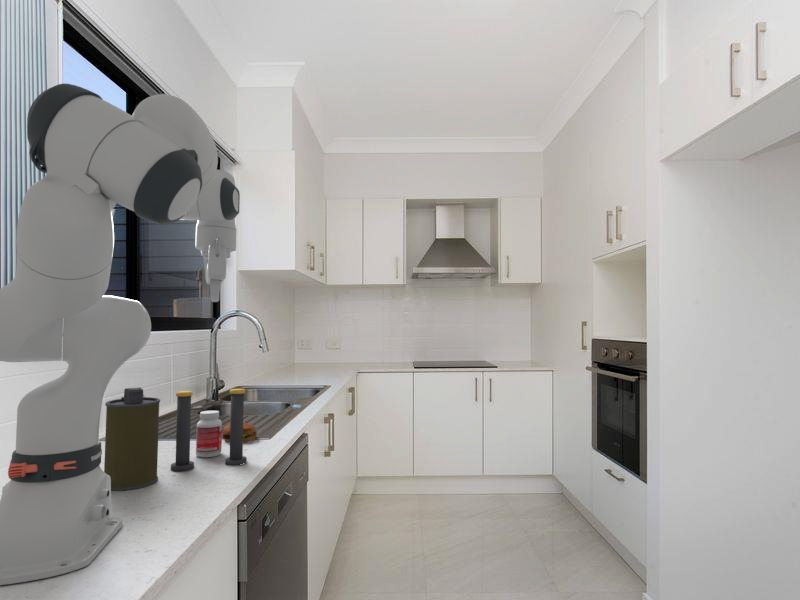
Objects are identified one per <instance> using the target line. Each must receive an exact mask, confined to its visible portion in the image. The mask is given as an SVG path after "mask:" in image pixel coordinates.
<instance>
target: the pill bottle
mask: <svg viewBox="0 0 800 600" xmlns="http://www.w3.org/2000/svg"><path fill="white" fill-rule="evenodd" d="M199 418H200V420H199V421H198V422H197V423H196V439H195V446H196V447H195V455H196V456H197V457H198V458H213V457H214V458H215V457H218V456H220V455H221V453H222V439H223V428H222V427H223V423H222V420H221V419H220V411H219V410H204V411H200V413H199Z"/></svg>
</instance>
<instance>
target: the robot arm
mask: <svg viewBox="0 0 800 600" xmlns="http://www.w3.org/2000/svg"><path fill="white" fill-rule="evenodd" d="M26 130H27V131H26V135H27V137H26V138H27V140H28V144H29V146H30V149H29V158H30V160H31V163H33V165H34V166H35V168H36V169H37V170H39V171H40V172H41V173H43V174H45V176H44V177H42V178H41V179H39V180H38V181H36V182H35V183H33V184H32V185H31V186H30V187H29V188H28V189H27V190H26V192H25V194H24V196H23V200H22V202H21V205H20V210H19V214H18V218H17V226H16V236H15V237H16V239H15V241H16V242H15V243H16V244H15V245H16V246H15V247H16V268H15V275H14V278H13V279H12V280H11V281H10V282H8V283H7V284H5V285H4V286H3V287H1V288H0V362H5V363H6V362H7V363H31V362H32V363H34V362H36V363H37V362H38V363H39V362H61V361H62V362H66V363H67V364H68V366H67V369H66V370H65V372H64V373H63V374H62V375H61V376H59V377H57V378H55V379H53V380H50V381H48V382H46V383H43V384H42V385H39V386H38V387H35V388H34V389H32V390H31V391H29V392H27V394H24V396H23V397H22V398H21V400H20V401H19V404H18V405H17V410H16V433H15V434H16V435H15V450H13V452H12V454H11V458H10V461H9V466H8V471H7V476H8V478H9V479H10V480H9V481H8V482H7V483H5V485H3V486H2V489H1V497H0V586H3V585H13V584H17V583H18V584H20V583H25V582H26V583H27V582H31V581H36V580H37V581H38V580H41V579H47V578H51V577H55V576H60V575H63V574H67V573H71V572H73V571H77V570H79V569H82V568H85V567H87V566H88V565H90V564H91V563H92V562H93V560H94V559H95V558H96V557H97V556H98V554H99V553H101V551H102V550H103V549H104V548H105V546H106V545H107V544H108V543H109V542H110V540H111V539H113V538H114V537H115V534H117V532H119V530H120V529H121V528H122V527H123V520H122V518H120V517H115V516H112V490H111V478H110V476H109V475H108V474H106V473H105V472H104V469H102V468H101V466H100V465H101V463H102V454H103V449H102V442H101V441H100V440H99V436H100V434H99V433H100V423H101V421H100V420H101V412H102V405H103V404H102V403H103V399H104V394H105V391H106V390H107V387H108V385H109V384H110V382H111V379H112V378H113V377H114V375H115V373H117V371H119V369H120V368H121V367H122V365H124V364H125V363H126V362H128V360H129V359H131V358H133V357H134V356H135V355H137V354H138V353H139V352H141V351H142V350H143V348H144V347H145V346H146V344H147V343H148V341H149V339H150V336H151V331H152V321H151V316H150V315H149V312H148V311H147V310H148V309H146V307H145V306H144V305H143V304H142V303H141V302H140V301H138V300H136V299H135V300H134V299H130V298H126V297H121V296H115V295H111V294H108V295H107V294H105V293H106V292H107V290H108V288H109V284H110V276H111V269H112V263H113V255H114V248H115V247H114V246H115V232H114V231H115V230H114V220H113V215H112V214H113V213H112V212H113V210H114V208H115V207H116V205H117V204H118V205H120V206H121V207H124V208H125V209H128V210H129V211H132V212H134V213H135V215H136V216H137V217H139V218H140V219H144V220H145V221H148V222H150V223H153V224H157V225H161V226H164V225H169V224H172V223H175V222H177V221H179V220H180V221H197V222H196V225H195V249H197V250H198V251H200V253H201V255H200V256H201V257H202V258H203V264H204V265H203V267H204V276H205V277H204V278H205V281H206V285H209V288H210V289H209V291H210V292H209V293H210V302H212V303H218V302H219V301H220V292H221V284H222V283H223V282H224V281H225V279H226V277H227V259H229V258H231V253H232V252H235V251H237V231H238V230H237V225H236V217H237V216H239V214H240V199H241V197H240V196H241V195H240V190H239V189H238V188H237V186H236V181H235V177H234V176H233V175H232V174H231V173H229V172H228V171H226V170H222V169H218V165H219V164H218V163H219V162H218V161H219V156H218V149H217V145H216V141H215V140H214V138H213V135H212V133H211V131H210V129H209V128H208V126H207V124H206V123H205V122H204V120H203V119H202V117H201V116H200V115H199V114H198V112H197V111H196V110H195V109H194V108H193V107H192V106H191V105H189V103H187V102H186V101H184V100H183V99H181V98H179V97H177V96H175V95H171V94H166V93H165V94H164V93H163V94H161V93H160V94H154V95H151V96H148V97H146V98H145V99H143V100H142V101H140V102H139V103H138V104H137V105H136V106H135V109H134V111H133V113H132V115H131V114H130V113H128V112H126V111H125V110H123V109H121V108H120V107H117V106H115V105H114V104H111V102H108V101H106V100H104V99H103V98H102V97H101V96H100V95H99V94H98V93H95V92H94V91H91V90H88V88H87V89H86V88H84V87H81V86H78V85H75V84H71V83H59V84H56V85H54V86H52V87H49V88H48V89H45V90H44V91H42V92H41V93H39V95H38V96H37V97H36V98H35V99H34V101H33V102H32V104H31V105H30V107H29V110H28V113H27V120H26Z"/></svg>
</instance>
